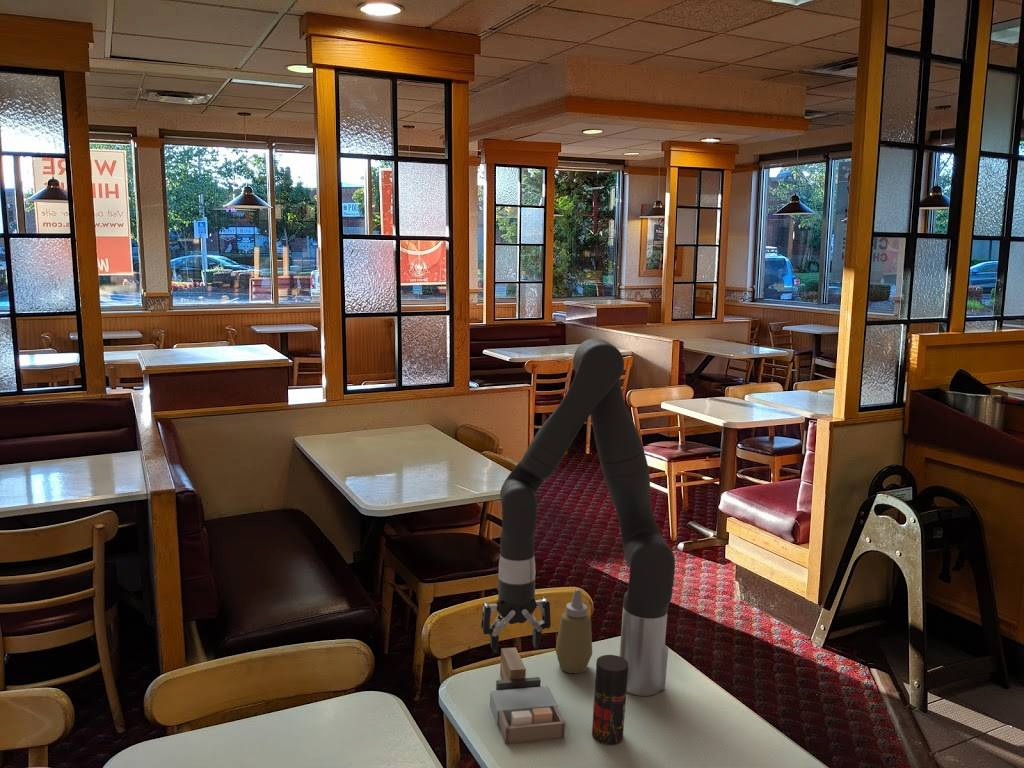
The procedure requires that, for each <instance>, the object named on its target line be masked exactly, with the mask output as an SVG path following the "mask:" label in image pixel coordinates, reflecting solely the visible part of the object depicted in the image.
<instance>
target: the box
mask: <svg viewBox="0 0 1024 768" xmlns="http://www.w3.org/2000/svg"><path fill="white" fill-rule="evenodd" d="M498 727H499V729H500V733H501V735H502V738H503V741H504V744H508V745H509V744H516V743H526V742H536V741H546V740H557V739H564V738H565V732H566V731H565V730H566V722H565V720H564V719H563V716H562V714H561V712H560V710H559V707H558V708H557V706H553V712H552V722H550V723H540V724H529V725H519V726H511V721H510V722H507V720H506V718H505V715H504V712H503V710H501V711H499V725H498Z"/></svg>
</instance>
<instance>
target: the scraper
mask: <svg viewBox="0 0 1024 768" xmlns="http://www.w3.org/2000/svg"><path fill="white" fill-rule="evenodd" d="M499 666H500V669H499V676H500V677H501V679H499V680H496V683H495V691H496V690H508V689H520V688H532V687H541V678H540V676H534V677H527V675H526V674H527V669H526V666H525V664H524V663H523V659H522V658H521V655H520V654H519V652H518V650H517V647H503V648H500V665H499Z"/></svg>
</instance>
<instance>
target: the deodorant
mask: <svg viewBox="0 0 1024 768" xmlns="http://www.w3.org/2000/svg"><path fill="white" fill-rule="evenodd" d="M627 677H628V662H627V661H626V660H625V659H624V658H622V657H620V655H616V654H615V655H614V654H605V655H601V656H599V657H598V658H597V659H596V664H595V680H594V681H595V682H594V693H593V694H594V695H593V696H594V697H593V710H592V727H591V737H592V739H593V740H594V741H595V742H596V743H599V744H600V745H605V746H615V745H616V746H617V745H618V744H620V743H622V741H623V739H624V727H625V714H626V702H627V692H626V691H627Z"/></svg>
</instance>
